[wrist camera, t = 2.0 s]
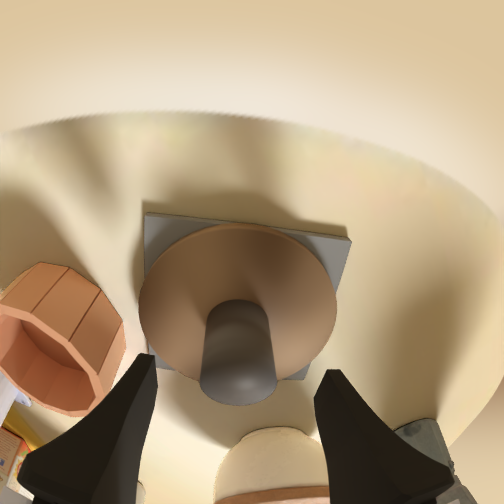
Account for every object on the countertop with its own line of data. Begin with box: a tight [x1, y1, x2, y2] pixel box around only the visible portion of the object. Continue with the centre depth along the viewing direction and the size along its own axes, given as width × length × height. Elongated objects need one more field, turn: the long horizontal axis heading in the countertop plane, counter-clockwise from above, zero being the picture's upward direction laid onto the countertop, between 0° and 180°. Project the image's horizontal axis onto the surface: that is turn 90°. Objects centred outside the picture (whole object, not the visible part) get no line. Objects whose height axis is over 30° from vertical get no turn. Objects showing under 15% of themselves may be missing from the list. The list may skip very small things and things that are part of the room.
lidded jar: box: [213, 427, 330, 504], centre depth 19 cm, size 11×11×9 cm
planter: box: [0, 262, 126, 417], centre depth 14 cm, size 9×9×4 cm
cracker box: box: [0, 427, 34, 501], centre depth 18 cm, size 14×6×21 cm, turn 159°
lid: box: [139, 223, 337, 406], centre depth 14 cm, size 10×10×5 cm
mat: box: [144, 212, 352, 380], centre depth 16 cm, size 10×10×1 cm
